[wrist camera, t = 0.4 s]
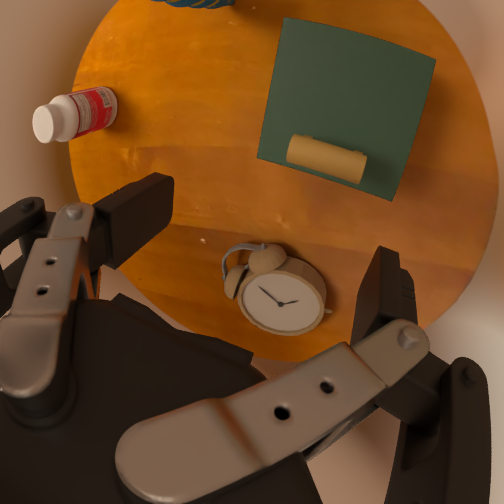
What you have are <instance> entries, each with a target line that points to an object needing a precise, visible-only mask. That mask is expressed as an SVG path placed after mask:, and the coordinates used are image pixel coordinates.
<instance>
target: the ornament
mask: <svg viewBox="0 0 504 504" xmlns="http://www.w3.org/2000/svg"><path fill="white" fill-rule="evenodd" d="M152 1H165V2H166V3H167V4H169V5H171V6H174V7H187V6H188V7H191V8H207V9H215V8H220V7H223V6H229V5H233V4H234V0H152Z"/></svg>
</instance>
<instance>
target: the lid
mask: <svg viewBox="0 0 504 504" xmlns="http://www.w3.org/2000/svg"><path fill="white" fill-rule="evenodd" d="M435 63H436V59H434V58H431V57H429V56H426V55H424V54H421V53H419V52H416V51H414V50H411V49H408V48H405V47H403V46H400V45H397V44H394V43H391V42H388V41H385V40H382V39H379V38H375V37H372V36H369V35H365V34H362V33H358V32H354V31H350V30H347V29H343V28H338V27H334V26H330V25H325V24H321V23H316V22H311V21H305V20H300V19H294V18H288V17H284V20H283V25H282V30H281V35H280V40H279V45H278V50H277V55H276V60H275V65H274V70H273V75H272V80H271V85H270V91H269V96H268V101H267V106H266V111H265V116H264V122H263V127H262V132H261V137H260V143H259V148H258V153H257V158H259V159H262V160H266V161H269V162H273V163H276V164H280V165H283V166H287V167H290V168H293V169H297V170H300V171H303V172H307V173H310V174H313V175H316V176H319V177H322V178H325V179H329V180H332V181H335V182H338V183H341V184H344V185H347V186H349V187H352V188H355V189H358V190H361V191H364V192H367V193H369V194H372V195H375V196H378V197H380V198H383V199H386V200H388V201H391V202H392V201H393V198H394V196H395V193H396V190H397V187H398V185H399V182H400V179H401V177H402V174H403V171H404V168H405V165H406V162H407V159H408V156H409V153H410V150H411V147H412V144H413V141H414V138H415V135H416V132H417V129H418V125H419V122H420V119H421V115H422V112H423V109H424V105H425V101H426V98H427V94H428V91H429V87H430V83H431V79H432V75H433V71H434V67H435Z"/></svg>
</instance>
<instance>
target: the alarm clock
mask: <svg viewBox="0 0 504 504" xmlns="http://www.w3.org/2000/svg"><path fill="white" fill-rule="evenodd" d="M239 249H248V250H254V251H253V252H252V253H251V254H250V257H249V260H248V264H249V265H248V264H247V265H246V266H244V265H237V266H235V267H233V268H232V269H231V270H230V271H229V273H228V274H227V266H226V257H227V256H228V255H229V254H230V253H231V252H233V251H236V250H239ZM246 269H248V270H247V272H246V275H245V277H244V274H245V270H246ZM222 270H223V274H224V276H222V279H223V280H224V282H225V283H224V290H225V293H226V295H227V296H228V297H229V298H230V299H232V300H234V298H235V296H236V294H237V298H238V305H239V307H240V309H241V311H242V313H243V314H244V316H245V317H246V318H247V319H248V320H249V321H250V322H251V323H253V324H254V325H256V326H257V327H259V328H260V329H262V330H265V331H267V332H270V333H273V334H277V335H284V336H292V335H300V334H303V333H306V332H309V331H311V330H312V329H313V328H315V327H316V326H317V325H318V324H319V322H320V321H321V319H322V317H323V313H332V310H330V309H327V308H324V305H325V302H326V293H327V289H326V286H325V283H324V280H323V278H322V277H321V276H320V275H319V273H318V272H317V271H316V269H314V268H313V267H311V266H310V265H309V264H307V263H306V262H304V261H302V260H299V259H296V258H293V257H290V256H287V254H286V252H285V251H284V249H283V248H282V247H281V246H279V245H277V244H272V243H269V244H264V243H262V244H261V245H253V244H249V243H242V244H237V245H235V246H233V247H231V248H230V249H229V250H228V251H227V253H226V254H225V256H224V258H223V260H222ZM243 277H244V279H243ZM242 280H243V281H242ZM237 292H238V293H237Z"/></svg>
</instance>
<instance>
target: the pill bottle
mask: <svg viewBox="0 0 504 504" xmlns="http://www.w3.org/2000/svg"><path fill="white" fill-rule="evenodd" d="M117 109H118V105H117V99H116V97H115V95H114V93H113V92H112V91H111V90H110V89H109V88H106V87H95V88H90V89H85V90H80V91H76V92H71V93H67V94H63V95H60V96H57V97H55V98H54V99H53V100H51V102H50V103H49V104H46V105H43V106H40V107H38V108H37V109H36V111H35V113H34V116H33V130H34V133H35V135H36V137H37V139H38V140H39V141H40V142H42V143H48V142H51V141H53V140H57V141H59V142H66V141H69V140H72V139H74V138H77V137H80V136H82V135H85V134H88V133H91V132H94V131H96V130H99V129H102V128H105V127H108V126H109V125H110V124H112V122H113V121H114V119H115V117H116V115H117Z"/></svg>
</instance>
